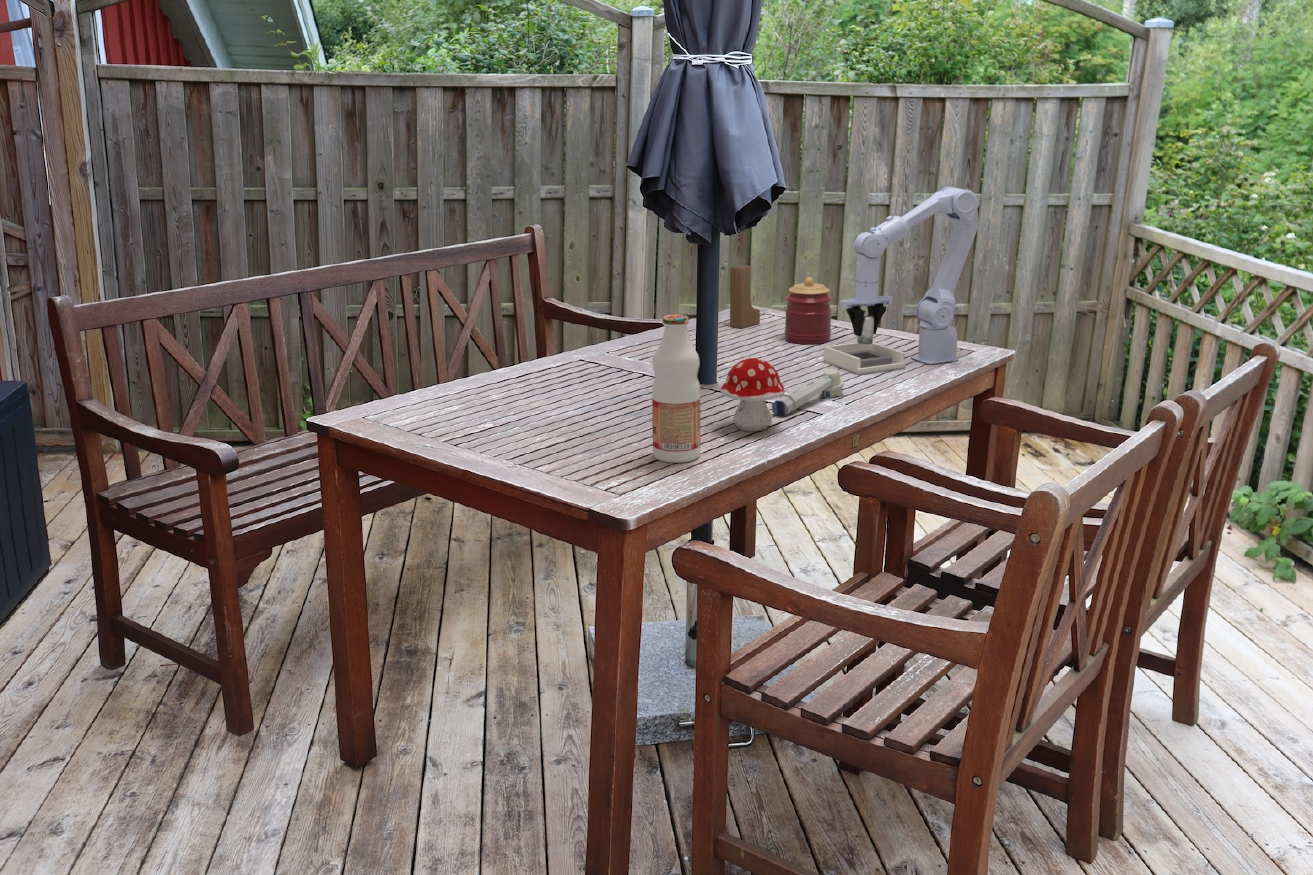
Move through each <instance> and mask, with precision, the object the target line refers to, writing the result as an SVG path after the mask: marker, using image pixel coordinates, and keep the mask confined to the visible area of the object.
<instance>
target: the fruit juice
mask: <svg viewBox="0 0 1313 875" xmlns="http://www.w3.org/2000/svg"><path fill="white" fill-rule="evenodd" d="M689 321H690V320H689V316H687V315H686V314H678V313H677V314H666V315H664V316H663V317H662V325H663V326H664V328H663V334H662V337H661V340H660V344H659V346H658V347H657V349H656V351H655V352H654V354H653V357H652V362H651V363H652V365H651V366H652V368H653V372H654V380H653V381H652V382H653V383H652V387H651V388H652V389H651V406H652V409H651V411H652V414H651V415H652V420H651V421H652V454H653V456H654V458H655V459H656V460H659V461H660V462H664V463H674V464H675V463H680V464H681V463H687V462H688V463H689V462H692V461H694V460H696V459H697V460H698V458H699V457H700V455H701V384H700V381H699V379H698V374H699V368H700V357H699V354H698V352H697V351H696V349H695V347H694V346H693V343H692V340H691V338H690V336H689V331H688V326H689Z"/></svg>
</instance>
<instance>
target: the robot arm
mask: <svg viewBox="0 0 1313 875" xmlns="http://www.w3.org/2000/svg"><path fill="white" fill-rule="evenodd" d="M979 201H980V200H979V199H978V198H977V195H976V194H975V192H973V190H970V189H967V188H966V189H963V188H957V187H954V186H949V185H948V186H945V187H944V188H942V189H941V190H938V191H936V192H934V193H933V194H932V196H930V197H929V198H927V199H926V200H924V201H923V202H922V203H920V204H918V205H917V206H916V207H914V208H913V209H911V210H909V211H908V212H906V213H905V214H903V215H902V216H898V215H893V216H892V215H888V216H887V217H886V218H885V221H884V222H882V223H880V224H879V225H877V226H872V227H870V228H869V230H870V231H869V232H866V231H865V232H861V233H859V234H858V236H857V237H856V238H855V240H854V242H853V243H852V247H853V249H854V252H855V253H856V264H855V266H856V268H855V290H854V291H855V292H854V293H855V294H854V295H855V296H854V297H852V298H849V299H843V300H840V303H839V306H840V307H839V309H842V310H846V313H847V315H848V316H849V320H850V323H851V327H852V330H853V336H856V337H857V336H861V333H862V322H863V317H864V314H866V310H864V309H862V308H864V307H866V308H867V314H873V315H875V319H874V334H873V335H876V334H877V331H878V328H879V325H880V323H881V320H882V319H883V316H884V314H885V313H886V311H887V306H885V305H892V304H893V296H891V295H879V287H880V286H879V285H880V281H879V280H880V267H881V266H880V265H881V263H880V262H881V260H880V259H881V256H882V255H883V253H884V252H885V250H886V249H887V248H888V247H890V246H892V245H893V244H894V243H896V242H898V241H900V240H901V239H903V238H905V237H906V236H907V235H908V232H909V229H910V228H912V227H914V226H916V225H917V224H920V223H921V222H923V221H925V220H927V219H928V218H930V217H932V216H934V215H937V214H945V215H947V217H948V218H949V219H950V221H951V223H952V226H953V231H952V234H951V238H950V239H949V242H948V245H947V247H946V250H945V253H944V255H943V258H942V261H941V264H940V265H939V268H938V271H937V273H936V276H935V279H934V282H933V285H932V286H931V287H930V288H929V289H928V290H927V291H926V292H925V294H924V296H923V298H922V299H921V300H920V301H919V302H918V304H917V305H916V308H915V314H916V316H917V318H918V319H919V329H918V330H919V332H918V333H919V334H918V347H917V348H918V349H917V355H913V356H910V359H912V360H914V361H918V362H920V363H924V364H927V365H935V364H936V365H937V364H941V363H951V362H957V361H959V358H957V351H958V332H957V329H956V328H955V327H954V326H953V325H951V324H952V322H953V320H954V318H955V311H954V308H955V305H956V299H955V296H954V292H955V289H956V287H957V284H958V282H959V279H960V276H961V273H962V270H963V268H964V266H965V263H966V260H967V258H968V256H969V252H970V250H971V247H972V245H973V242H974V239H975V236H976V234H977V232H978V229H979V215H978V213H979V212H978V208H979V206H980V202H979Z"/></svg>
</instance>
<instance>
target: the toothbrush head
mask: <svg viewBox="0 0 1313 875" xmlns="http://www.w3.org/2000/svg"><path fill="white" fill-rule="evenodd" d="M844 385H845V382H844V380H842V379H841V374H840V371H839V370H838V369H837V368H828V369H825V370H824V371H823V374H822V375H821V376H819V377H818V378H816V379H814V380H812V381H810V382H807V383H806V384H804V385H802V386H800V387H798V388H796V389H794V390H792V391H790V392H789V393H784V394H783V395H782V396H781V397H778V398H777V399H776V400H775V401H774V402H773V403H772V404H771V412H772V413H773V414H774V415H775V416H777V417H778V416H779V417H783V418H784V417H785V416H787V415H788V414H792V413H794V412H795V411H796V410H797V409H798V408H799V407H801V406H802V405H804V404H806V403H807V402H809V401H810V400H812V399H813V398H814V397H816V396H818V395H819V394H820V396H821V397H823V398H829V399H830V398H832V397H837V396H839V397H841V396H842V395H843V388H844V387H845V386H844Z"/></svg>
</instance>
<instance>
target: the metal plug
mask: <svg viewBox="0 0 1313 875" xmlns="http://www.w3.org/2000/svg"><path fill="white" fill-rule="evenodd" d="M874 319H875V315H873V314H868V313H865V314H864V317H863V322H862V333H861V336H856V337H857V338H856V343H860V344H872V343H874V335H875V334H874Z"/></svg>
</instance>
